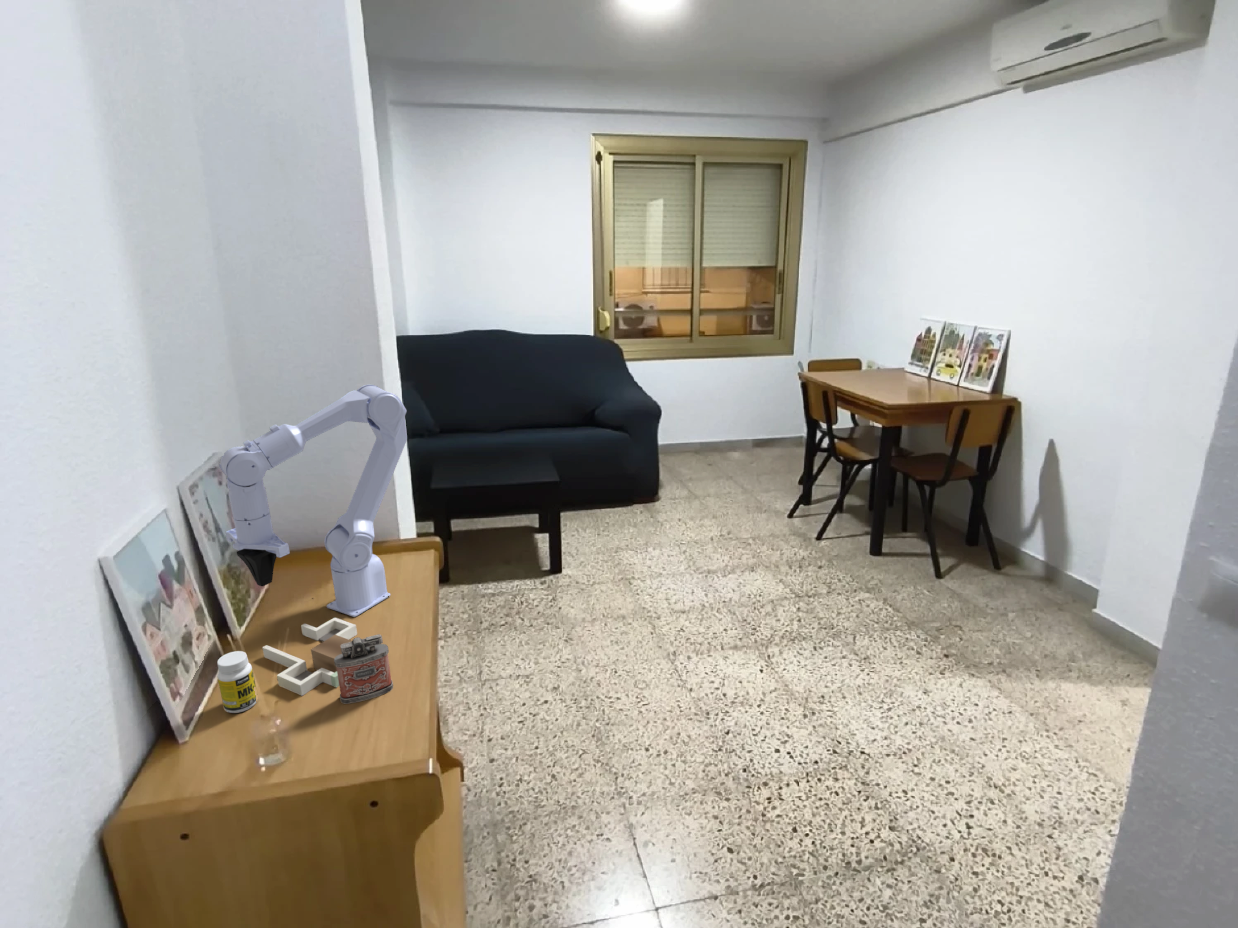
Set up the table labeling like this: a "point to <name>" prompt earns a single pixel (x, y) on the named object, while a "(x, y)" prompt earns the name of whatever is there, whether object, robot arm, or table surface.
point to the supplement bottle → (236, 682)
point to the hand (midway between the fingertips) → (264, 583)
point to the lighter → (363, 669)
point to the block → (328, 653)
